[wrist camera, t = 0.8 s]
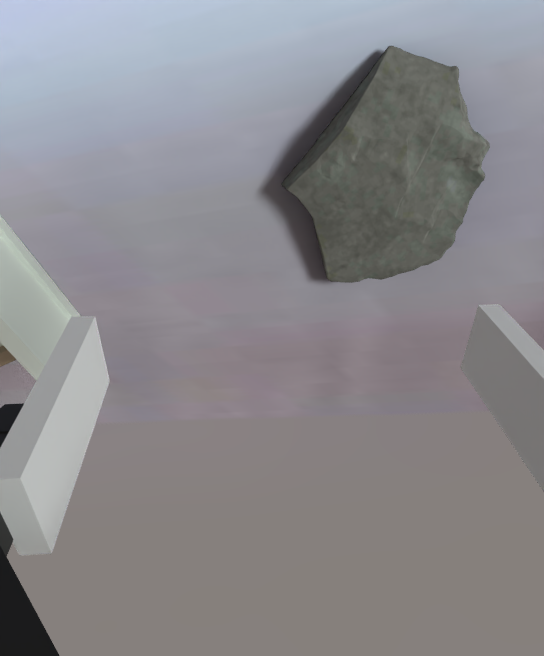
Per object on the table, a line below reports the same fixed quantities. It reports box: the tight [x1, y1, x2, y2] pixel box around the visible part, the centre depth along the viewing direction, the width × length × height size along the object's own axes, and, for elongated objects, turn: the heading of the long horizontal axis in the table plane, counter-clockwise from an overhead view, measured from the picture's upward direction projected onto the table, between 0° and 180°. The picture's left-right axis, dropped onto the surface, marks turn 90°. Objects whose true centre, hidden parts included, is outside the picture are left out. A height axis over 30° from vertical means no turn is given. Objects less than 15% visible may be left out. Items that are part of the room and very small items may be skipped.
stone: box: [282, 46, 490, 282], centre depth 39 cm, size 18×5×15 cm
